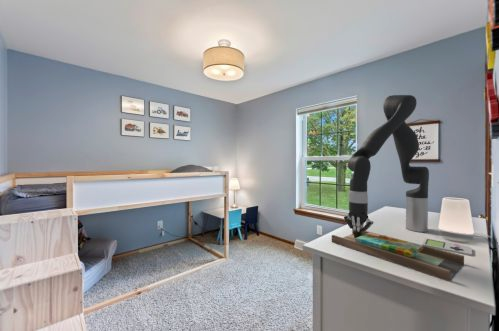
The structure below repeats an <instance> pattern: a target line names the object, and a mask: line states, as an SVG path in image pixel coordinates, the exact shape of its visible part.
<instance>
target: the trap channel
mask: <svg viewBox="0 0 499 331" xmlns="http://www.w3.org/2000/svg"><path fill="white" fill-rule="evenodd" d="M351 232H352V234H349V235H346V236H343V237H341V236H338V235H335V234H331V242H332V243H333V244H336V245H340V246H342V247H345V248H349V249H352V250H353V251H358V252H361V253H362V254H366V255H369V256H372V257H376V258H379V259H382V260H384V261H388V262H391V263H393V264H397V265H399V266H402V267H405V268H409V269H411V270H414V271H417V272H420V273H423V274H426V275H429V276H432V277H436V278H438V279H440V280H441V279H442V280H444V281H447V282H450V281H451V280H452V279H453V278H454V276H455V275H456V274H457V273H458V272H459V271H460V270H461V268H462V267H463V266H464V265H465V255H463V254H458V253H454V252H449V251H444V250H440V249H435V248H431V247H427V246H423V245H422V244H419V243H415V242H411V241H407V240H402V239H399V238H395V237H391V236H387V235H385V236H386V237H390V238H394V239H398V240H402V241H406V242H410V243H413V244H417V245H421V246H423V249H422V250H421V251H420V252H418V253H417V254H416V255H414V256H413V257H406V256H402V255H398V254H395V253H392V252H388V251H385V250H382V249H378V248H375V247H372V246H368V245H365V244H362V243H358V242H356V241H355V238H354V230H353V229H352V230H351ZM367 233H374V232H372V231H368V230H366V231H363V232H362V235H364V234H367ZM374 234H378V235H382V236H383V235H384V234H379V233H374Z"/></svg>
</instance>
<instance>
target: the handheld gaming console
mask: <svg viewBox="0 0 499 331" xmlns="http://www.w3.org/2000/svg"><path fill="white" fill-rule="evenodd" d="M421 245H423V246H427V247H431V248H435V249H439V250H443V251H447V252H451V253H455V254H459V255H463V256H469V257H473V248H472V247H470V246H468V245H464V244H459V243H453V242H448V241H443V240H439V239H438V240H437V239H432V238H426V237H425V238H424V240H423V241H422V244H421Z"/></svg>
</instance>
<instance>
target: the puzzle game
mask: <svg viewBox="0 0 499 331" xmlns="http://www.w3.org/2000/svg"><path fill="white" fill-rule="evenodd" d="M378 234H379V233H376V234H374V232H372V233H367V234H364V235H362V236H360V237H357V238H355V241H356V242H358V243H362V244H365V245H368V246H372V247H375V248H378V249H382V250H385V251H388V252H392V253H395V254H398V255H402V256H406V257H413V256H414V255H416V254H417V253H418V252H420V251H421V250H422V249H423V246H421V245H422V244H419V245H417V244H418V243H415V244H413V243H414V242H412V243H410V242H411V241H408V242H406V241H407V240H404V241H402V239H400V240H398V239H399V238H396V239H394V238H395V237H392V238H390V237H391V236H388V237H386V236H387V235H384V234H380V235H378ZM382 235H383V236H382Z"/></svg>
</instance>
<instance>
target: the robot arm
mask: <svg viewBox="0 0 499 331" xmlns="http://www.w3.org/2000/svg"><path fill="white" fill-rule="evenodd" d="M382 107H383V108H382V109H383V113H384V116H385V118H386V120H387V121H386V122H384V123H383V124H382V125H381V126H379V127H378V128H376V129H374V130H372V132H370V134H369V135H368V136H367V137H366V139H365V140H364V141H363V143H362V144H361V146H360V147H359V148H358V149H357V150H356V151H355V152H354V153H353V154H352V155H351V156H350V157H349V159H348V161H347V168H348V169H349V170H350V171H351V172H353V176H352V177H351V178H350V180H349V194H348V213H347V215H345V216H344V217H343V219H344V221H345V222H346V224H347V225H348V227H349V229H353V230H354V238H357V237H360V236H362V232H363V231H368V230H369V229H370V227H372V225H374V223H375V222H374V221H373V220H371V219H370V218H369V215H368V209H369V208H368V206H369V204H368V203H369V196H368V180H369V177H370V172H371V167H372V166H371V162H370V158H372V157H374V156H376V155H377V154H378V152H380V150H381V149H382V147H383V145H384V144H385V143H386V141H387V140H388V139H389V138H390V137H391V136H392V137H393V142H394V145H395V150H396V154H397V155H398V160H399V164H400V169H401V176H402V180H403V182H404V183H406V184H410V185H411V184H412V185H419V186H418V187H416V188H414V189H409V190H407V191H405V229H407V230H409V231H413V232H418V233H427V232H428V230H429V228H428V226H429V181H430V180H429V179H430V170H429V167H427V166H413V165H412V166H411V165H410V164H411V161H412V160H413V158H414V157H415V156H416V155H417V153H418V151H419V150H420V143H419V139H418V136H417V134H416V132H415V131H414V130H413V129H412V128H411V126H410V125H409V124H407V123H406V120H407V119H408V118H409V117H411V115H412V114H413V113H414V111H415V110H416V107H417V98H416V96H414V95H411V94H392V95H389V96H387V97H386V98H385V99H384V101H383V106H382ZM364 223H365V224H364Z"/></svg>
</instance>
